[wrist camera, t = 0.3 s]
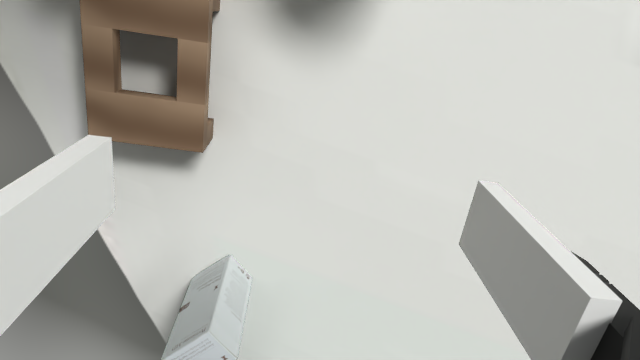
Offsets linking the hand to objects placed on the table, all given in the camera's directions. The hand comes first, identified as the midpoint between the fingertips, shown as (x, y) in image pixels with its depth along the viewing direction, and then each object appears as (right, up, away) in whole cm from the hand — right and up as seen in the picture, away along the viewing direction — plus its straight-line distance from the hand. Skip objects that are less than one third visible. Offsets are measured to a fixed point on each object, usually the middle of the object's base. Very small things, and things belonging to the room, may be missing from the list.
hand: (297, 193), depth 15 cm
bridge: (-14, +12, +24) cm, 30 cm away
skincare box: (-11, -11, +34) cm, 37 cm away
